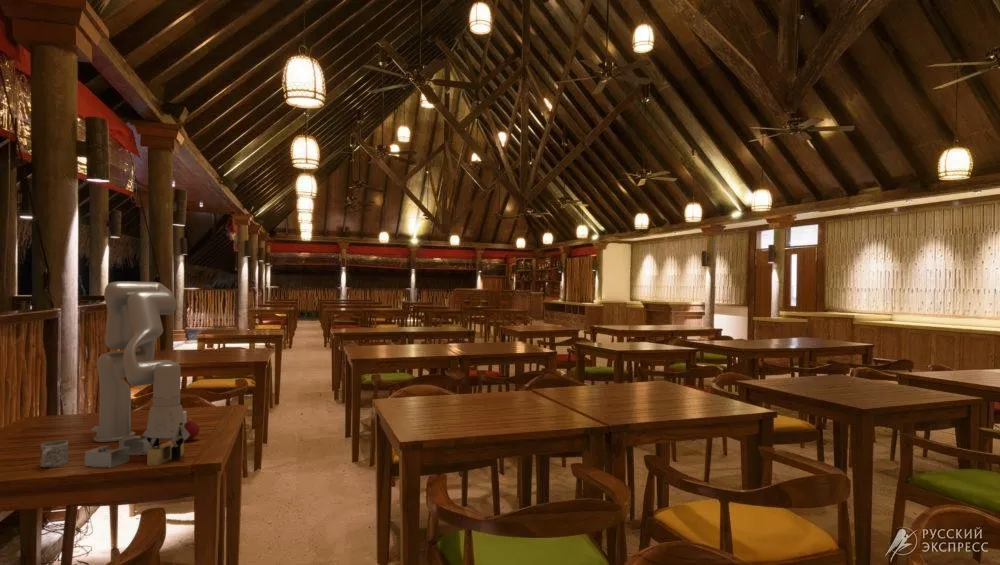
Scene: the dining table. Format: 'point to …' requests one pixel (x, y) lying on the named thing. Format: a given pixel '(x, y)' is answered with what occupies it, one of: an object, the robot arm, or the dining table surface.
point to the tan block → (161, 453)
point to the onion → (191, 429)
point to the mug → (54, 453)
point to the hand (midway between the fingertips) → (166, 457)
